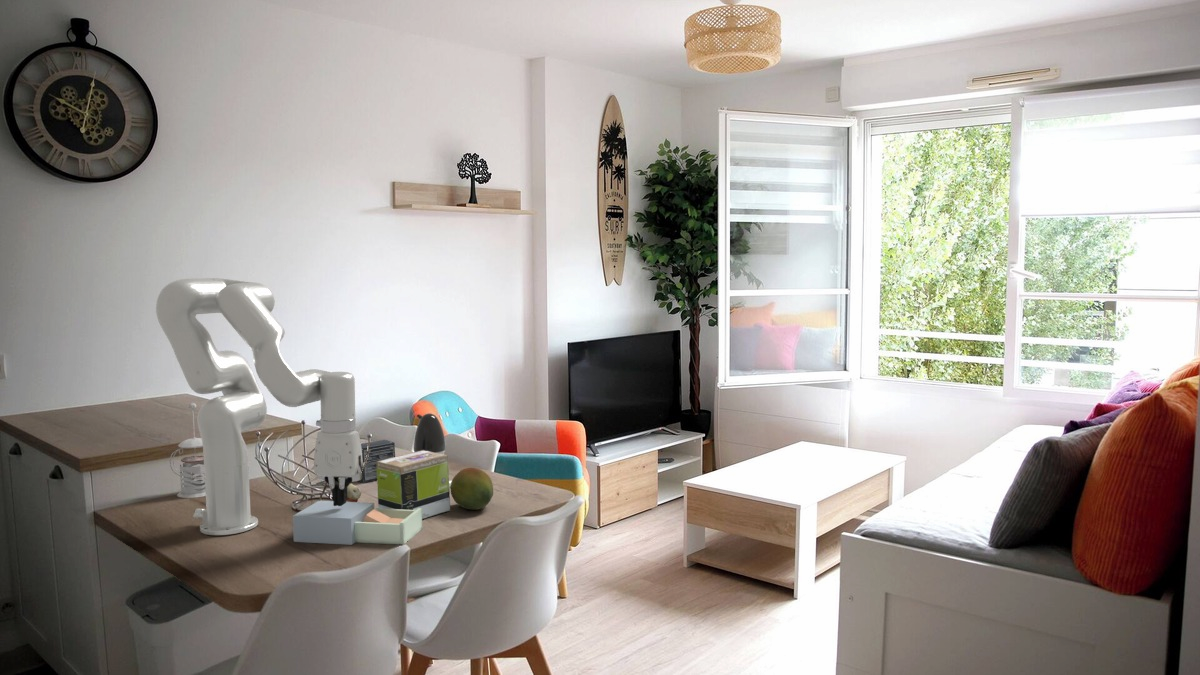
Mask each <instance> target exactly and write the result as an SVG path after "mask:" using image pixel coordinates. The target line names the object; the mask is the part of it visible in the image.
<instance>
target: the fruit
mask: <svg viewBox="0 0 1200 675" xmlns="http://www.w3.org/2000/svg"><path fill="white" fill-rule="evenodd" d="M451 481H452V482H451V487H450V494H451V495H450V496H451V497H452V499H453V500H454V502H455V504H457V505H458V506H460V507H462V508H465V509H467V510H481V509H483V508H485V507H486V506H487V505H488V504H489V503H490V502H491V500H492V498H493V497H494V487H493V486H494V485H493V482H492V479H491V477H490V475H489V474H488V473H486V471H484V470H483V469H480V468H476V467H466V468H463V469H461V470H459V471H458V472H457V473H456V474H455V475H454V477H453V478H452V480H451Z"/></svg>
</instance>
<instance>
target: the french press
mask: <svg viewBox="0 0 1200 675" xmlns="http://www.w3.org/2000/svg"><path fill="white" fill-rule="evenodd" d="M188 408H190V409H194V408H197V404H196V403H194V402H192V403H190V404H189V405H188ZM194 415H195V414H194V410H192V424H193V429H195V416H194ZM195 435H196V433H195V430H193V437H192V438H188V439H185V440H183V441H182V442H180V443H178V444H177V446H178V447H179V448H178V449H176V450H174V451H173V452H172V453H171V455H170V457H169V467H170V470H171V471H172V473H174V474H175V475H176V476H179V479H180V480H179V482H180V491H179V492H178V493H177V494H176V496H177V497H178V498H185V499H194V498H201V497H206V490H205V469H204V454H202V455H201V454H200V455H198V454H197V453H196V452H197V451H196V450H194V455H190V456H185V457H182V458H181V459H180V462H181V463H182V464H179V470H178V469H177V467H176V464H175V456H176V454H177V453H178V454H179V455H182V454H183V453H184V449H199V448H203V444H202V439H201V437H196V436H195ZM196 454H197V455H196ZM171 460H172V461H171ZM171 462H172V463H171ZM172 465H173V467H174V469H173V467H172ZM197 465H198V466H197ZM199 465H200V466H199ZM175 471H176V472H175ZM177 472H178V473H179V474H178V473H177Z"/></svg>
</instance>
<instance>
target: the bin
mask: <svg viewBox="0 0 1200 675" xmlns="http://www.w3.org/2000/svg"><path fill="white" fill-rule="evenodd" d="M374 509H375V510H377V511H379V512H381V513H382V514H384V515H386V516H388V517H390V518H400V519H404V520H403V521H401V522H400V524H395V523H375V522H355V543H365V544H381V545H382V544H384V545H385V544H386V545H399V544H404V545H406V543H408V542H409V541H410V540H411V539H413V537H415V536H416V535H417V534H418V533H420V532H421V530H422V529H423V519H422V508H418V509H417V510H403V509H381V508H379V507H378V508H375V507H374ZM407 541H408V542H407Z"/></svg>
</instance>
